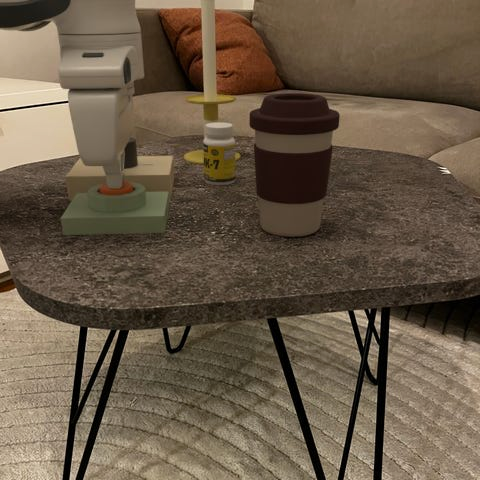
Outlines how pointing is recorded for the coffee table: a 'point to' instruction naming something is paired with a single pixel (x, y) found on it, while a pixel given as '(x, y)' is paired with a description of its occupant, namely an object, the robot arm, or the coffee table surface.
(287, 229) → the coffee cup
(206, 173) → the supplement bottle
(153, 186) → the panel
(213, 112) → the candle
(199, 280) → the coffee table surface
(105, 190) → the power button
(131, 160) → the knob
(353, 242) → the coffee table surface
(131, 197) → the button housing
